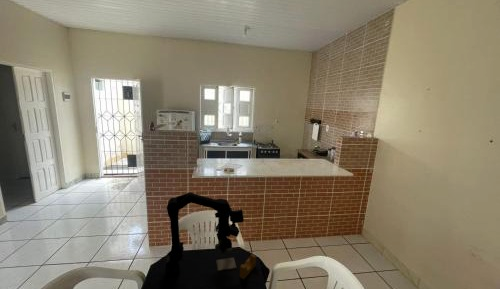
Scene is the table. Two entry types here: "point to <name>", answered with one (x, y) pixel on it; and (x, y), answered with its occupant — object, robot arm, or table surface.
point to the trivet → (226, 264)
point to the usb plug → (218, 250)
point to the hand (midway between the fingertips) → (222, 250)
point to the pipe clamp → (247, 266)
